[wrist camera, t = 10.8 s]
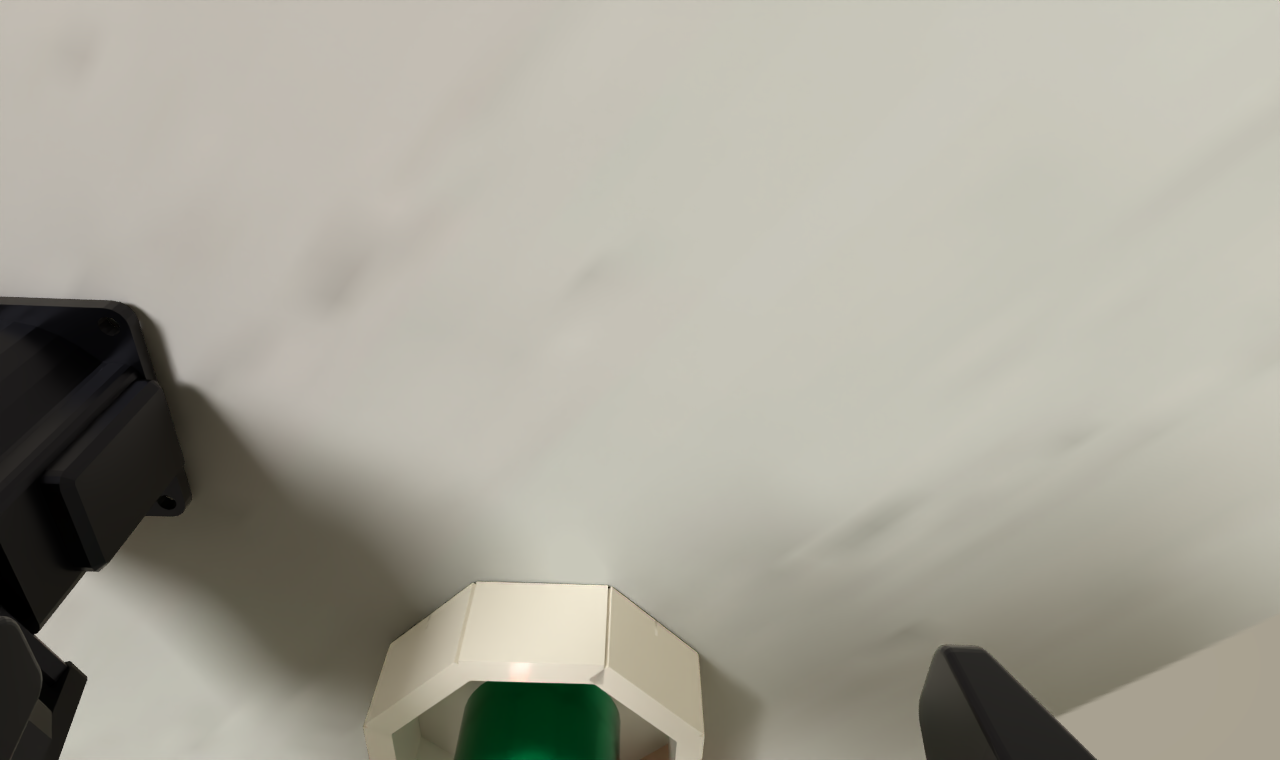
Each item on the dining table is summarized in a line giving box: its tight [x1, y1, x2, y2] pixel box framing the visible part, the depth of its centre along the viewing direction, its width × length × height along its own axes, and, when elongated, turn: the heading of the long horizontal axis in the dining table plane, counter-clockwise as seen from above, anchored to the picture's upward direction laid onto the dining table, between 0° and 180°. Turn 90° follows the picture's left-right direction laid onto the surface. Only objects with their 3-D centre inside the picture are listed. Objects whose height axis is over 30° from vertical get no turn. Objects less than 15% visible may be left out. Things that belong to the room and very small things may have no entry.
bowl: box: [363, 581, 705, 760], centre depth 27 cm, size 10×10×3 cm
